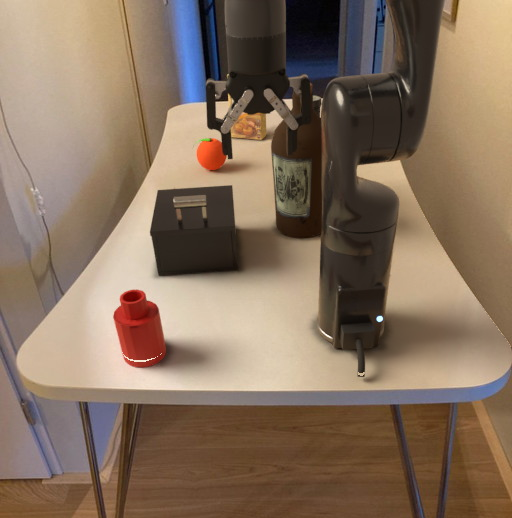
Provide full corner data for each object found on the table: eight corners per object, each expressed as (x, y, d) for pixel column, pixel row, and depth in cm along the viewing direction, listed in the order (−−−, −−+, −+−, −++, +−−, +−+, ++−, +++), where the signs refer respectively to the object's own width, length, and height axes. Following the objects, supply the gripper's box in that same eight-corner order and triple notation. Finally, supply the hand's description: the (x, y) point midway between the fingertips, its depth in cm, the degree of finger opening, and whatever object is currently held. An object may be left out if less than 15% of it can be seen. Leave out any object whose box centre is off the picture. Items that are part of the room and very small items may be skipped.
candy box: (230, 138, 144) (225, 74, 135) (236, 132, 147) (232, 70, 138) (261, 140, 142) (259, 76, 132) (267, 135, 145) (265, 72, 135)
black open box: (238, 270, 92) (235, 228, 87) (158, 275, 92) (150, 234, 87) (235, 228, 104) (232, 189, 99) (164, 233, 104) (158, 194, 99)
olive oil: (288, 210, 109) (288, 73, 93) (338, 220, 105) (346, 79, 89) (262, 233, 102) (257, 89, 86) (315, 244, 98) (319, 96, 82)
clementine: (189, 173, 126) (185, 142, 122) (199, 162, 131) (195, 132, 127) (223, 175, 124) (220, 144, 120) (231, 164, 130) (229, 133, 125)
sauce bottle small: (164, 365, 73) (153, 307, 68) (121, 369, 73) (106, 311, 67) (167, 339, 78) (157, 282, 72) (126, 342, 78) (112, 285, 72)
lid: (235, 230, 86) (233, 199, 83) (150, 236, 86) (144, 205, 83) (232, 189, 99) (230, 160, 96) (158, 194, 99) (153, 165, 96)
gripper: (197, 37, 66) (210, 169, 76) (316, 31, 66) (312, 163, 76) (199, 25, 71) (210, 149, 82) (308, 19, 72) (306, 143, 82)
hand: (260, 155), depth 79 cm, fingers open, 8 cm apart
